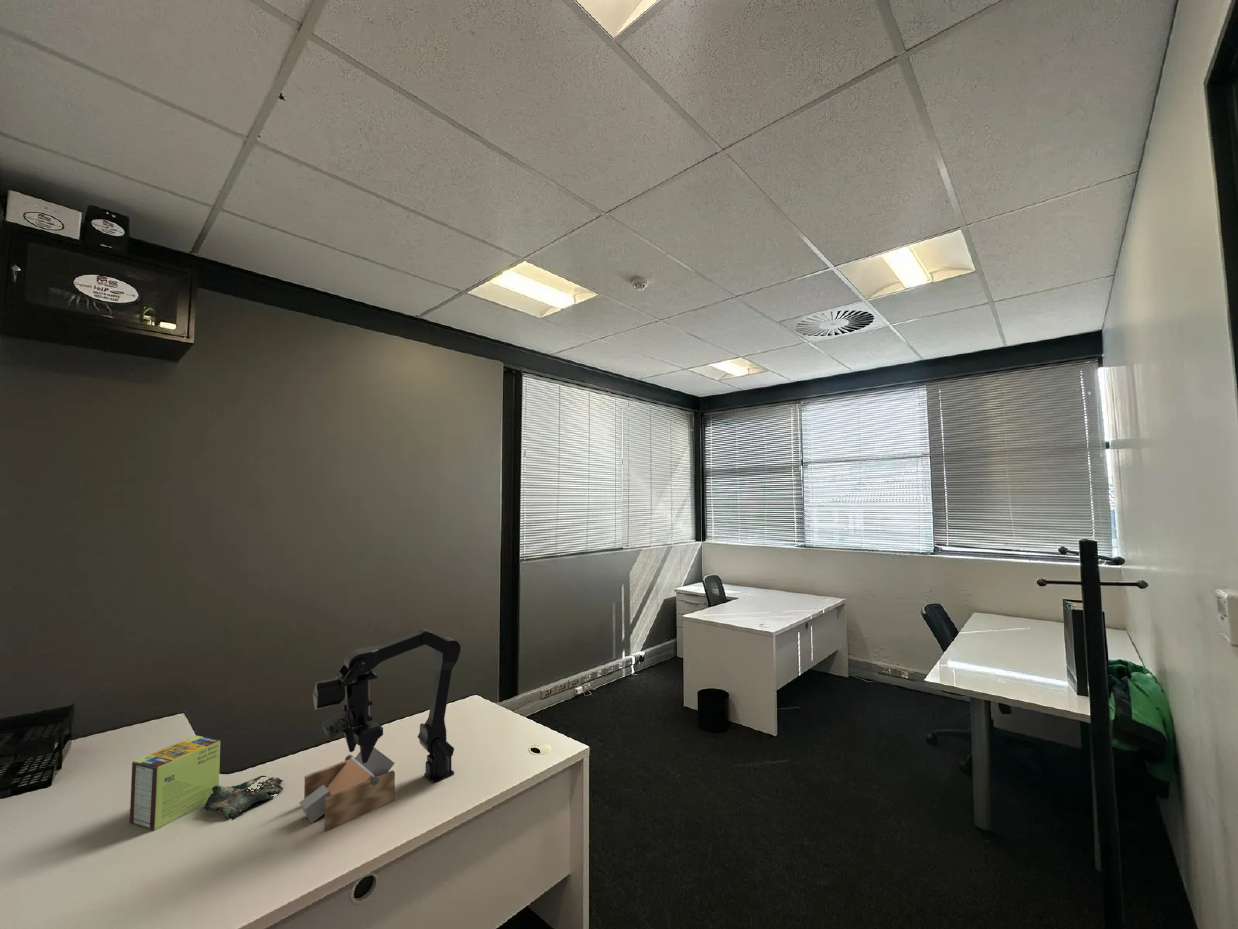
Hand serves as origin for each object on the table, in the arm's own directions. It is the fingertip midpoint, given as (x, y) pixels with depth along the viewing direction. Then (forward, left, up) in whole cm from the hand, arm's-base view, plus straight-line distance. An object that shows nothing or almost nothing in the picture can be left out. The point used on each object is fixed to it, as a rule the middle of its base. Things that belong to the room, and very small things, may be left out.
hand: (358, 757), depth 137 cm
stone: (+6, -3, -8) cm, 11 cm away
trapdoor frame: (+1, -3, -13) cm, 13 cm away
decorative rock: (+19, -27, -13) cm, 35 cm away
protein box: (+33, -36, -13) cm, 50 cm away
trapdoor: (-3, -3, -9) cm, 10 cm away
